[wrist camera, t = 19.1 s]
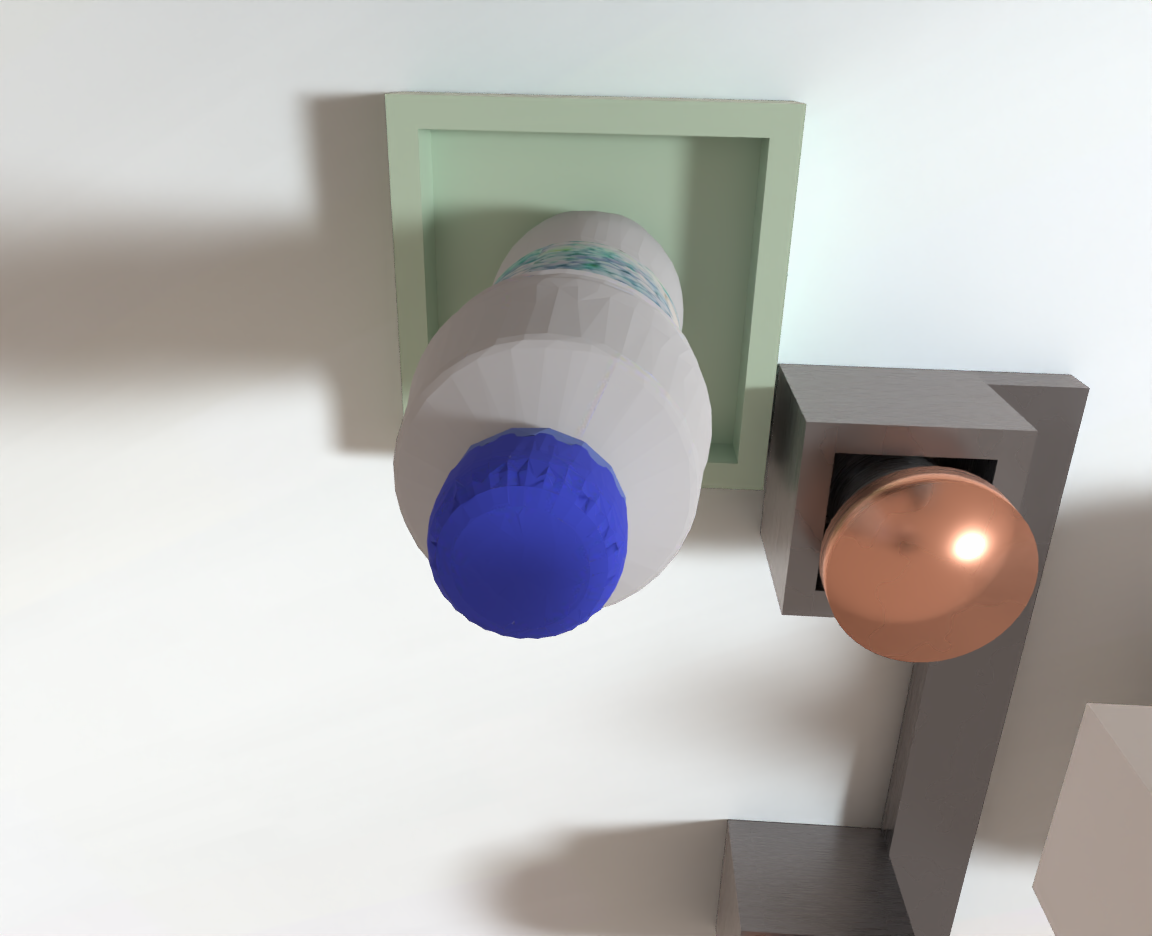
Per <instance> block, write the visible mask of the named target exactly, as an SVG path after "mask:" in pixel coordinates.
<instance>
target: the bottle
mask: <svg viewBox="0 0 1152 936" xmlns="http://www.w3.org/2000/svg"><path fill="white" fill-rule="evenodd" d="M682 326H683V298H682V290H681V286H680V282H679V277H678V275H677V272H676V270H675V268H674V266H673V263H672V261H671V260H670V258H669V257H668V255H667V254H666V252H665V251H664V249H663V248H662V246H661V245H660V244H659V243H658V242H657V241H656V240H655V239H654V238H653V237H652V236H651V235H650V234H649V233H648V232H647V231H646V230H645V229H644V228H643V227H642V226H640V225H639V224H638V223H636V222H635V221H633V220H631V219H629V218H627V217H624V216H622V215H619V214H613V213H607V212H600V211H569V212H563V213H560V214H557V215H555V216H553V217H551V218H548V219H546V220H545V221H543V222H541V223H540V224H538V225H537V226H535V227H534V228H532V229H531V230H530V231H528V232H527V233H526V234H525V235H524V236H523V237H522V238H521V239H520V240H519V241H518V242H517V243H516V244H515V245H514V246H513V247H512V248H511V250H510V251H509V253H508V254H507V256H506V257H505V259H504V260H503V262H502V264H501V266H500V268H499V270H498V272H497V275H496V277H495V279H494V282H493V285H492V286H491V287H488V288H486V289H485V290H484V291H482V292H481V293H479V294H478V295H476V296H475V297H473V298H472V299H471V300H469V301H468V302H467V303H466V304H465V305H463V306H462V308H461V309H460V310H459V311H458V312H456V313H455V314H454V315H452V316H451V317H450V318H449V319H448V320H447V321H446V322H445V323H444V324H443V325H442V327H441V328H440V329H439V330H438V331H437V333H436V334H435V335H434V337H433V338H432V339H431V341H430V343H429V344H428V346H427V348H426V349H425V351H424V353H423V354H422V356H421V358H420V361H419V363H418V366H417V368H416V371H415V373H414V376H413V379H412V383H411V387H410V392H409V398H408V404H407V407H406V410H405V414H404V417H403V420H402V424H401V427H400V430H399V434H398V437H397V440H396V447H395V454H394V461H393V465H394V480H395V492H396V495H397V499H398V503H399V507H400V510H401V513H402V516H403V518H404V521H405V523H406V526H407V527H408V529H409V531H410V533H411V535H412V537H413V539H414V540H415V542H416V544H417V546H418V548H419V549H420V550H421V551H422V552H423V554H424V555H425V556H426V557H427V558H428V560H429V563H430V567H431V569H432V573H433V577H434V580H435V582H436V584H437V585H438V587H439V589H440V591H441V592H442V594H443V596H444V597H445V598H446V599H447V600H448V601H449V602H450V603H451V604H452V605H453V607H454V608H455V610H457V611H458V612H460V613H461V614H463V615H464V616H465V617H466V618H467V619H468V620H469V621H470V622H473V623H475V624H477V625H478V626H480V627H482V628H483V629H485V630H489V631H493V632H495V633H498V634H500V635H502V636H509V637H514V638H519V639H522V638H535V639H539V638H543V637H550V636H556V635H559V634H562V633H564V632H567V631H570V630H573V629H574V628H575V627H577V626H578V625H580V624H582V623H584V622H587V620H588V619H589V618H590V617H591V616H592V615H593V614H595V613H596V612H598V611H599V610H601V608H604V607H607V606H610V605H613V604H616V603H618V602H620V601H621V600H623V599H625V598H627V597H629V596H631V595H632V594H634V593H636V592H638V591H639V590H641V589H642V588H643V587H645V586H646V585H647V584H648V583H650V582H651V581H652V580H653V579H654V578H656V577H657V576H658V575H659V574H660V573H661V572H662V571H663V570H664V568H665V567H666V566H667V565H668V564H669V563H670V562H671V560H672V559H673V558H674V557H675V556H676V555H677V553H678V552H679V550H680V548H681V546H682V544H683V542H684V540H685V538H686V536H687V535H688V533H689V531H690V529H691V526H692V524H693V521H694V518H695V515H696V510H697V505H698V500H699V496H700V490H701V484H702V477H703V472H704V469H705V466H706V463H707V461H708V455H709V449H710V443H711V437H712V416H711V405H710V400H709V396H708V391H707V386H706V384H705V381H704V378H703V376H702V373H701V371H700V368H699V365H698V362H697V359H696V357H695V355H694V353H693V351H692V349H691V347H690V345H689V343H688V341H687V339H686V337H685V336H684V334H683V333H682Z"/></svg>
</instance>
